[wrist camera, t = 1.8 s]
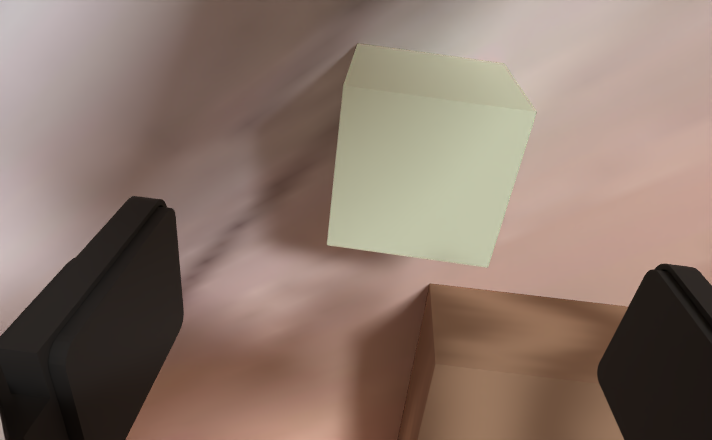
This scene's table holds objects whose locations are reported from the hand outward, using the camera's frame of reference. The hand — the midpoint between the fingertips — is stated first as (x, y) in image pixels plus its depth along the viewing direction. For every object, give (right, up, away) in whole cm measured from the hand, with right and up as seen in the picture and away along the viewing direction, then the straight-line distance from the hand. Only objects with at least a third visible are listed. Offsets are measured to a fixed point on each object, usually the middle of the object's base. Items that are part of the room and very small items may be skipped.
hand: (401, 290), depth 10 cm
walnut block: (+8, -7, +15) cm, 19 cm away
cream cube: (+1, +5, +8) cm, 10 cm away
